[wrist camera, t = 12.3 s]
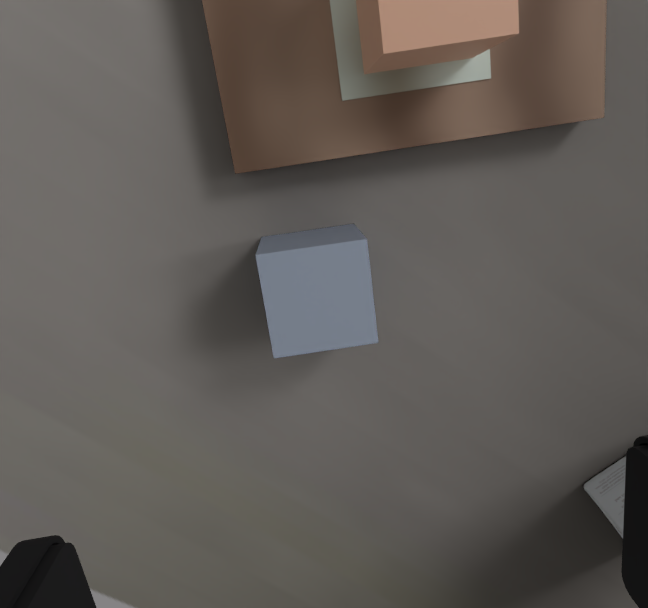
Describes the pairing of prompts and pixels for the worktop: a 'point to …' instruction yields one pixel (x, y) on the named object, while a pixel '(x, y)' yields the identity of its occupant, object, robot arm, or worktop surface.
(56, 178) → the worktop surface
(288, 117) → the board
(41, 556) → the robot arm
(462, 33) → the terracotta block
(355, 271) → the slate block
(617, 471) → the supplement box
